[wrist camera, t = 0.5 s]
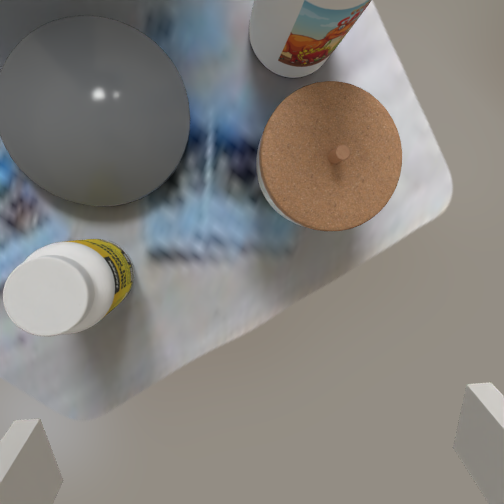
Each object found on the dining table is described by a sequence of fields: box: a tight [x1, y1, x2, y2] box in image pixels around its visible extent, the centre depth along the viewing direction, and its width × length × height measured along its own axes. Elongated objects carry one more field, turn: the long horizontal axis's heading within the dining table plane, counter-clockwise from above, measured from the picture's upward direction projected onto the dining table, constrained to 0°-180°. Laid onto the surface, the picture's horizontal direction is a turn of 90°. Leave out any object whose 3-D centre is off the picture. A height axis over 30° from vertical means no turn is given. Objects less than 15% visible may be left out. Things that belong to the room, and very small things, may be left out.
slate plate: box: [0, 16, 190, 206], centre depth 30 cm, size 15×15×2 cm
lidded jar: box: [256, 81, 402, 231], centre depth 29 cm, size 11×11×9 cm
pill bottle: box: [3, 239, 134, 336], centre depth 26 cm, size 6×6×11 cm
